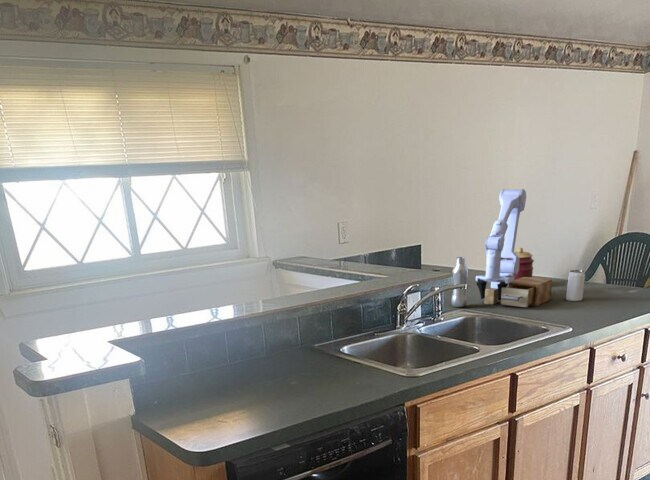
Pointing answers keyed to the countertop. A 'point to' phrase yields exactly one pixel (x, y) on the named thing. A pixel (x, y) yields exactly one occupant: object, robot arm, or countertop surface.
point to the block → (491, 295)
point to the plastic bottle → (459, 282)
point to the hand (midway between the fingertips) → (491, 299)
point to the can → (575, 285)
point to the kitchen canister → (524, 264)
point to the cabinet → (541, 286)
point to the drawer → (518, 295)
